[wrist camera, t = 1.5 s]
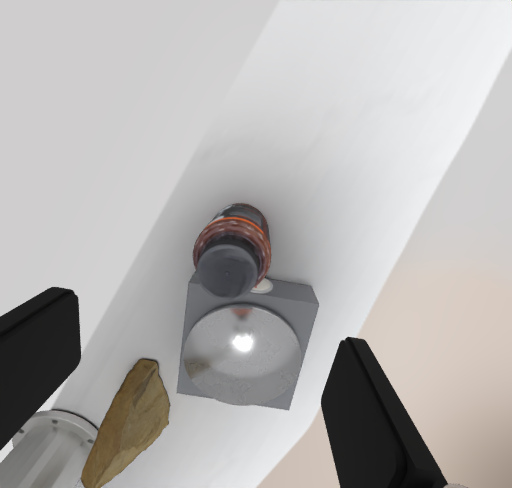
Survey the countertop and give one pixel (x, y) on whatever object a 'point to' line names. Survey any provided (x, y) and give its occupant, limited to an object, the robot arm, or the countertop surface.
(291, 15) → the countertop surface
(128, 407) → the rock
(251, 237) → the supplement bottle
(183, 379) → the scale base
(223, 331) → the scale pan
